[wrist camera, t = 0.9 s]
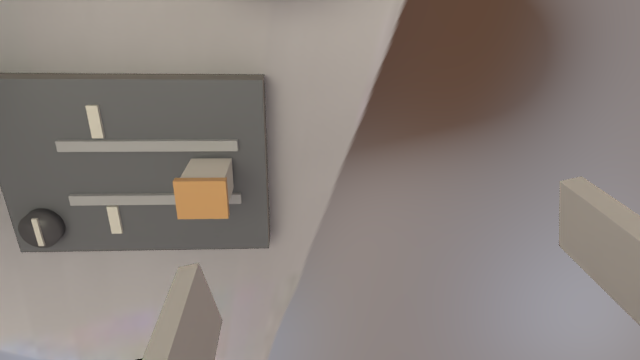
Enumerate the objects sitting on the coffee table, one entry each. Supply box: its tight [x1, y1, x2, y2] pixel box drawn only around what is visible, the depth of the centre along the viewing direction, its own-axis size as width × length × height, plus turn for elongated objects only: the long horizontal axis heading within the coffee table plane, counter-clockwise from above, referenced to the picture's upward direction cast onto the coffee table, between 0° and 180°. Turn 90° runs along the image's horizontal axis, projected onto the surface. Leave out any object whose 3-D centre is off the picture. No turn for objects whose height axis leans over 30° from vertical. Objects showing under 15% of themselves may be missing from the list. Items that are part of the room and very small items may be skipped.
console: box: [0, 73, 270, 252], centre depth 34 cm, size 20×14×3 cm
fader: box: [173, 158, 234, 219], centre depth 31 cm, size 3×3×5 cm
